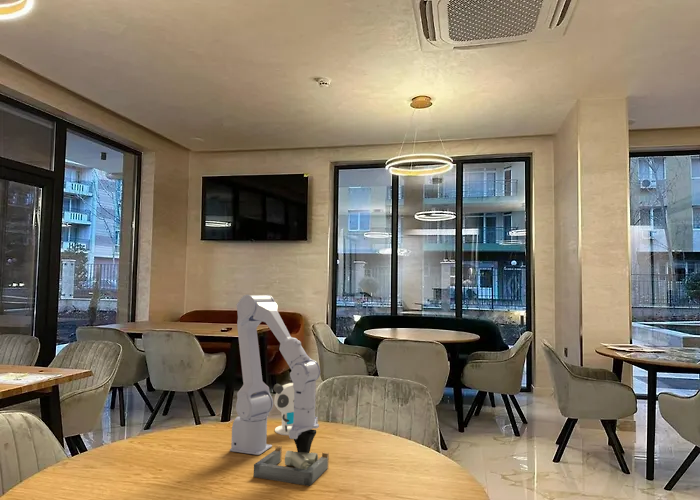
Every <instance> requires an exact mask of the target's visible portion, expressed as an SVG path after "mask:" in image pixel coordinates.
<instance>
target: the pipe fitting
mask: <svg viewBox="0 0 700 500" xmlns="http://www.w3.org/2000/svg"><path fill="white" fill-rule="evenodd" d="M318 459H319V454H318V453H317V452H309V453H304V452H297V451H294V450H286V451H285V455H284V465H286V466H287V467H292V466H293V468H299V469H305V470H307V469H308V468H309V467H311V466H312V465H313V464H314V463H315V462H316V461H317V460H318Z"/></svg>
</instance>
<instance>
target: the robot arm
mask: <svg viewBox="0 0 700 500" xmlns="http://www.w3.org/2000/svg"><path fill="white" fill-rule="evenodd" d="M278 307H279V305H278V304H277V302H276V301H275V298H274V297H273V296H272V295H271V294H251V295H250V294H245V295H242V296H241V298H240V299H239V300H238V302H237V303H236V311H237V323H236V326H237V335H238V336H237V337H238V344H239V345H238V347H239V355H240V366H241V374H242V375H241V376H242V382H243V384H242V386H241V388H240V389H239V390H238V391H237V392H236V397H237V399H236V403H235V411H236V414H237V416H236V417H235V419H233V423H232V427H231V447H230V449H229V452H234V453H242V454H248V455H256V456H259V455H262V454H263V453H265V452H267V451H268V450H270V448H272V447H273V445H272V444H268V443H267V438H268V437H267V435H268V434H267V432H268V417H269V416H270V412H271V411H272V409H273V407H274V399H273V397H272V395H271V391H270V387H269V386H268V385H267V384H266V383H265V382H264V381H263V375H262V374H263V373H262V366H261V365H262V364H261V356H260V347H259V346H260V345H259V338H258V331H257V329H258V327H259V325H260V324H261V323H262V322H263V323H265V324H266V326H268V328H269V329H270V331H271V332H272V333H273V335H274V336H275V338H276V339H277V341H278V342H279V351H280V354H281V355H282V357H283V359H284V360H285V362H286V364H287V365H288V367H289V368H290V370H291V371H290V372H289V377H290V380H291V383H293V388H294V423H293V425H292V428H291V430H290V431H289V435H288V437H289V439H291V440H293V441H294V444H295V447H296V452H304V453H311V447H312V444H313V441H314V439H315V436H316V434H317V430H316V429H318V428H320V423H319V419H318V418H319V417H318V416H316V399H317V398H316V391H317V390H316V387H317V382H316V381H318V379H319V378H320V375H321V367H320V365H319V362H317V361H316V360H315V359H312V358H311V357H310V356H309V355H308V354H307V352H306V351H305V348H303V346H302V341H300V340H298V338H296V337H293V336H291V334H290V331H289V330H288V328H287V327H286V325H285V323H284V320H283V319H282V317H281V315H280V312H279V310H278Z"/></svg>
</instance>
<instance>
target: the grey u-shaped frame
mask: <svg viewBox="0 0 700 500" xmlns="http://www.w3.org/2000/svg"><path fill="white" fill-rule="evenodd" d="M282 450H283V447H282V446H281V445H276V446H275V450H273V451H271V452H270V453H268V454H267V455H266V456H264V457H263V458H261V459H260V460H258V461H257V462H255V463H254V464H253V478H257V479H264V480H270V481H276V482H281V483H282V482H283V483H289V484H295V485H302V486H308V487H310V486H312V485H313V483H315V482H316V481H317V480H318V479H319V478H320V477H321V476H322V475H323V474H324V473H325V472H326V471H327V470H329V465H330V463H329V459H330V453H329V452H326V451H323V452H322V454H321V457H319V458H318V460H317V461H316V462H315V463H314V464H313V465H312V466H311V467H309V468H308V469H307V470H305V469H299V468H296V467H292V466H283V465H278V464H280V463H281V462H282V459H283V458H282V457H283V453H282V452H283V451H282Z"/></svg>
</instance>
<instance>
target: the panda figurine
mask: <svg viewBox="0 0 700 500" xmlns="http://www.w3.org/2000/svg"><path fill="white" fill-rule="evenodd" d="M273 392H274V393H275V394H274V399H273V405H274V406H275V408H276V409H277V410H278V411H279V412H281V413H280V415H281V425H279V426H278V425H277V427H274V428H275V429H274V432H275V433H276V434H278V435H281V436H289V431H290V430H291V428H292V425H293V423H294V388H293V382H289V383H285V384H283V385H281V384H280V383H276V384H274V385H273Z"/></svg>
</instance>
